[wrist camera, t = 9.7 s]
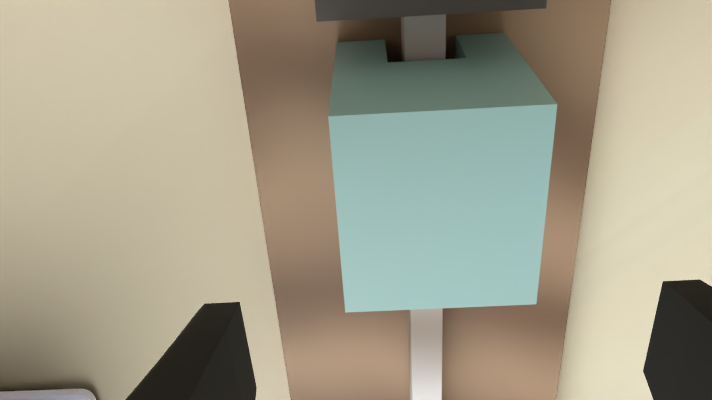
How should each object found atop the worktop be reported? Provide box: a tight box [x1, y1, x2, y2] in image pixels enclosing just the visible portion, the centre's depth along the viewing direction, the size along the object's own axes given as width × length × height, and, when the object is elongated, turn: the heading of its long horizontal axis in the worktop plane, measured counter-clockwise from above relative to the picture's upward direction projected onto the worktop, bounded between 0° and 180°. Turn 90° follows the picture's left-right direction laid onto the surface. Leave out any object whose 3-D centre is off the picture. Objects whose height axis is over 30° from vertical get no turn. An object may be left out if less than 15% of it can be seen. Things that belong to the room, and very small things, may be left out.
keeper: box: [328, 33, 557, 313], centre depth 16 cm, size 5×4×5 cm
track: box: [229, 0, 611, 400], centre depth 21 cm, size 26×10×4 cm, turn 3°
